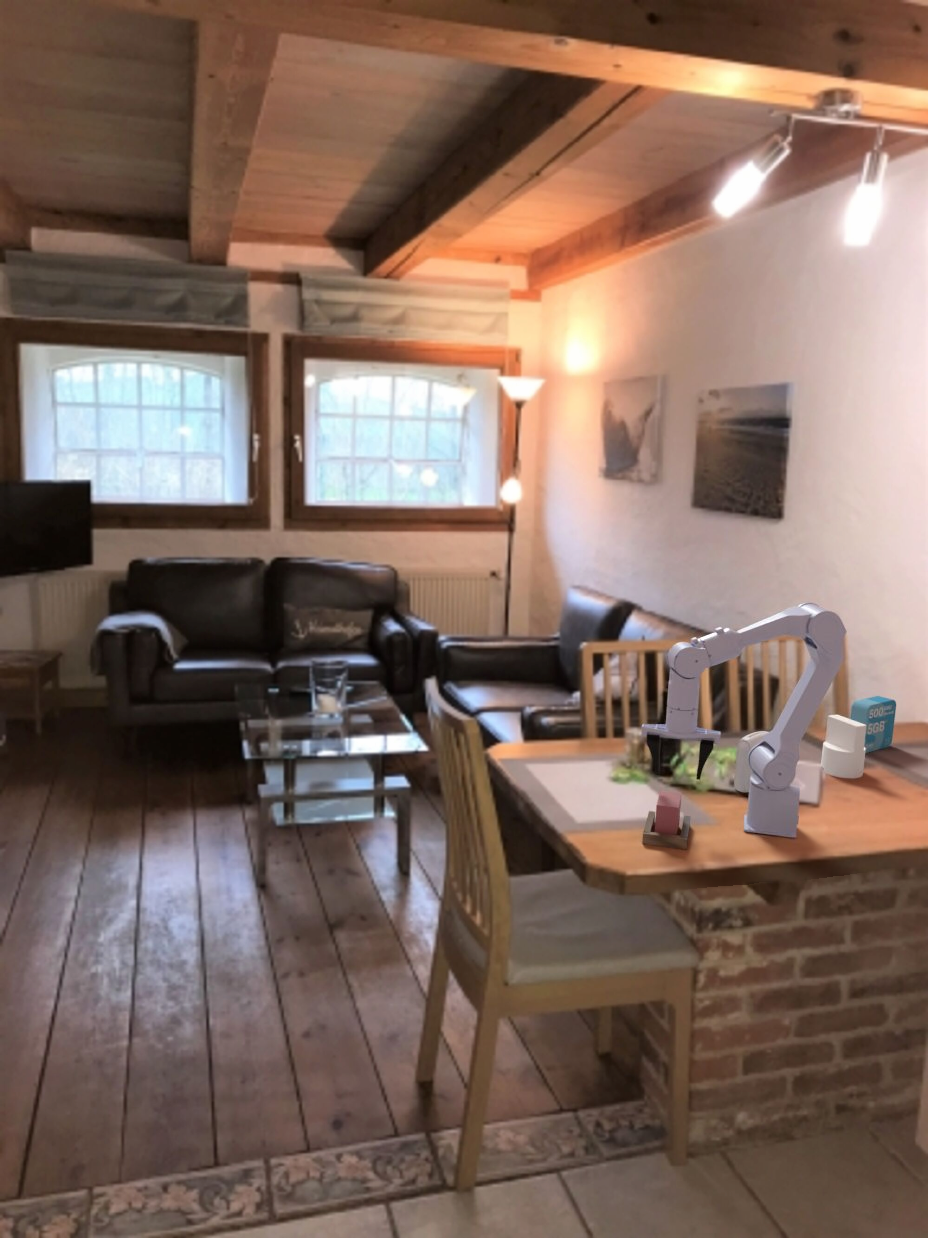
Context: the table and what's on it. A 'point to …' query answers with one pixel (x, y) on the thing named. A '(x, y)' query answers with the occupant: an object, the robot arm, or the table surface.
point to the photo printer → (745, 760)
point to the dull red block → (668, 812)
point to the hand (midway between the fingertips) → (677, 775)
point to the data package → (875, 720)
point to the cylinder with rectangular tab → (844, 747)
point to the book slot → (665, 839)
